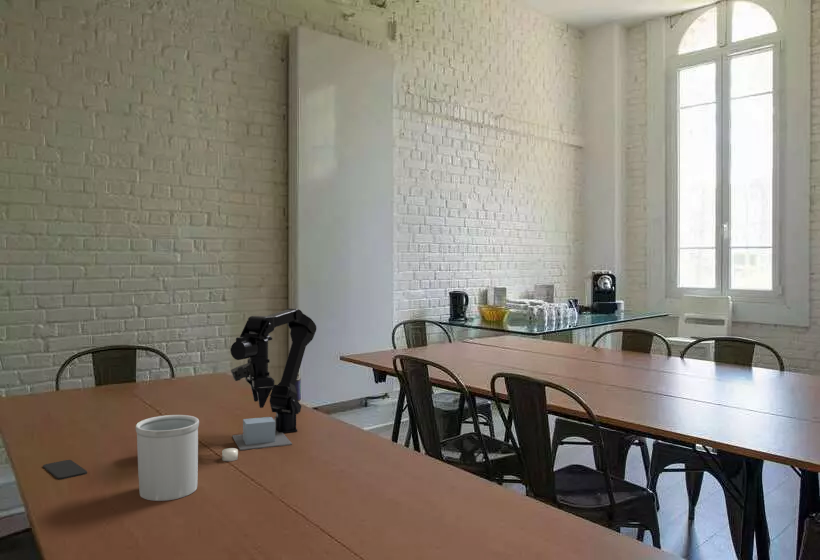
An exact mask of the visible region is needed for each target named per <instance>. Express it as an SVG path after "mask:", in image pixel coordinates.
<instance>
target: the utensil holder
mask: <svg viewBox="0 0 820 560" xmlns="http://www.w3.org/2000/svg"><path fill="white" fill-rule="evenodd" d="M199 426H200V420H199V418H198V417H196V416H193V415H187V414H169V415H168V414H167V415H159V416H154V417H153V416H152V417H149V418H146V419H142V420H141V421H139V422H137V424H135V432H136V443H137V445H136V446H137V447H136V448H137V472H138V473H137V475H138V489H139V491H138V492H139V496H140V498H142V499H144V500H148V501H153V502H155V501H156V502H161V501H162V502H164V501H165V502H166V501H171V500H172V501H173V500H177V499H182V498H185V497H187V496H189V495H191V494H193V493H194V492H196V490H197V489H198V481H199V480H198V473H199V471H198V469H199V467H198V466H199Z"/></svg>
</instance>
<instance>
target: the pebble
mask: <svg viewBox="0 0 820 560" xmlns="http://www.w3.org/2000/svg"><path fill="white" fill-rule="evenodd" d="M238 456H239V448H235V447H229V448H224V449H222V452H221V461H223V462H234V461H237V460H238V459H239V457H238Z"/></svg>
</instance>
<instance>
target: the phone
mask: <svg viewBox="0 0 820 560" xmlns="http://www.w3.org/2000/svg"><path fill="white" fill-rule="evenodd" d="M42 467H43V468H44V469H45V470H46V471H47V472H48V473H49V474H51V476H53V477H54V478H55V479H56V480H59V481H60V480H61V481H62V480H66V479H71V478H75V477H80V476H85V475H87V474H88V471H87V470H86V469H85V468H83V467H82V466H80V465H79V464H77V463H76V462H75V461H73V460H71V459H65V460H59V461H55V462H50V463H45V464H43V466H42Z"/></svg>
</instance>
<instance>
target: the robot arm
mask: <svg viewBox="0 0 820 560" xmlns="http://www.w3.org/2000/svg"><path fill="white" fill-rule="evenodd" d="M283 325H287V327H288V329H290V332H289V334H290V338H291V346H290V348H289V349H290V350H289V353H288V356H287V359H286V362H285V365H284V369H283V373H282V376H281V378H280V379H281V380H280V382H278V384H275V379H274V378H273V377H271V375H270V371H269V364H270V362H271V361H270V359H269V341H273V337H272V336H271V335H269V334H271V333H273V332H274V331H275V328H278V327H280V326H283ZM316 332H317V325H316V323H315V322H314V321H313V320H312V318H311V317H310V316H308V315H306V313H304V312H303V311H302V310H301V309H299V308H290V307H289V308H287V309H285V310H282V311H279V312H275V313H272V314H269V315H251V316H249V317H248V318H247V321H246V322H245V324H244V327H243V329H242V331H241V334H240V335H239V336H238V337H236V338H235V342H233V343H232V345H231V346H230V349H229V350H230V351H229V352H230V355H231V357H232V358H233V359H234V360H236V361H240V360H245V359H247V362H246V363H244V364H242V365H239V366H236V367H234V368H232V369H230V373H231V375H232V377H233V380H234V382H238V381H240V380H241V379H245V381H246V382H247V383H248V385H250V389H251V393H252V399H253V401H254V402H255V403H256V402H258V406H259V408H260V409H264V406H265V405H266V403H267V401H268V399H269V404H270V408H271V413H275V416H274V418H273V419H274V420H275V431H278V432H279V433H280V432H283V434H285V433H294V432H298V428H297V415H299V413H301V410H302V405H301V404H300V401H297V399H296V398H297V392H296V388H295V383H296V380H297V376H298V374H300V368H301V365H302V362H303V358H304V355H305V350H306V347H307V346H308V344H309V343H311V342H312V341H313V340H314V337H315V334H316Z"/></svg>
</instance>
